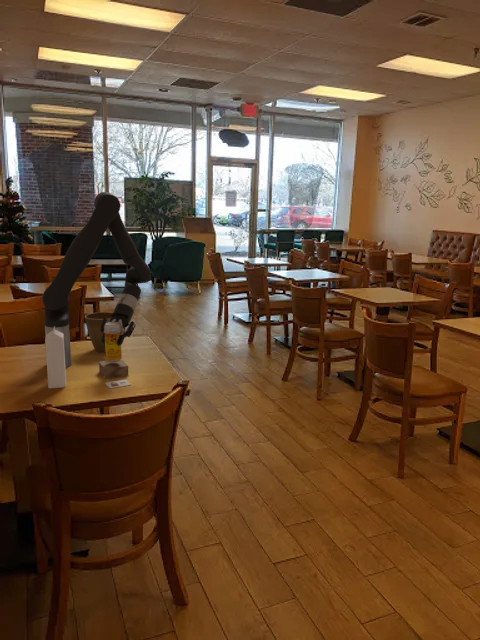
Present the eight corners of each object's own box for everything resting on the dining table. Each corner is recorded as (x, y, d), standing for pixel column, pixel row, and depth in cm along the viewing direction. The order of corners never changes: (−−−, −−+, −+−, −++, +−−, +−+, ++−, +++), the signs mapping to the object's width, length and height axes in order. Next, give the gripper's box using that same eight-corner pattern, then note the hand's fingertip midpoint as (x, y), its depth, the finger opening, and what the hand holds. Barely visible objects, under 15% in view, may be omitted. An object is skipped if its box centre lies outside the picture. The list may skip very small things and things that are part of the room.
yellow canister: (107, 363, 195) (106, 326, 191) (104, 358, 200) (102, 322, 197) (123, 361, 198) (122, 324, 194) (119, 357, 203) (118, 321, 199)
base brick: (105, 378, 194) (105, 369, 193) (99, 371, 202) (99, 362, 201) (128, 375, 199) (128, 365, 198) (121, 368, 206) (121, 359, 205)
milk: (48, 388, 183) (44, 330, 178) (49, 382, 189) (45, 325, 183) (66, 387, 185) (62, 329, 180) (66, 381, 191) (63, 325, 185)
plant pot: (126, 349, 231) (125, 315, 227) (98, 356, 220) (97, 321, 216) (107, 342, 241) (106, 310, 237) (79, 349, 230) (78, 314, 226)
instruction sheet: (109, 388, 185) (109, 387, 185) (105, 383, 190) (105, 382, 190) (130, 385, 189) (130, 384, 189) (125, 380, 194) (125, 379, 194)
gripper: (106, 301, 203) (90, 337, 195) (137, 304, 199) (123, 341, 191) (113, 311, 209) (98, 346, 201) (144, 314, 205) (130, 350, 197)
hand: (110, 343), depth 196 cm, fingers closed on yellow canister, 6 cm apart
